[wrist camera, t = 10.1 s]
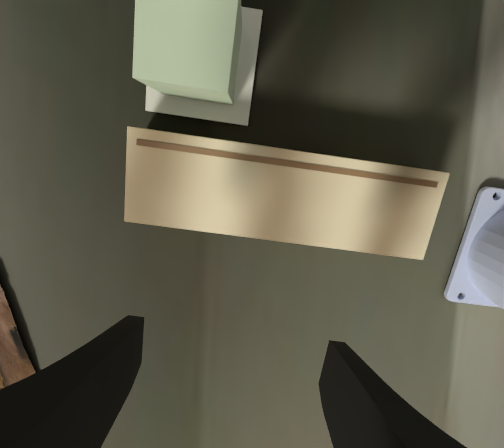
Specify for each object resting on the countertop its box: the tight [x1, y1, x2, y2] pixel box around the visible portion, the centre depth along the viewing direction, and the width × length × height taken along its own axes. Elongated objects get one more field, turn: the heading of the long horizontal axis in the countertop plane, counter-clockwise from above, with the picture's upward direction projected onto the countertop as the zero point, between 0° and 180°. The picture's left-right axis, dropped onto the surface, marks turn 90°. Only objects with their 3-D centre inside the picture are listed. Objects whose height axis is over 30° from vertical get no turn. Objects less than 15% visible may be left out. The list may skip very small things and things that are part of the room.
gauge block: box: [132, 0, 242, 105], centre depth 15 cm, size 4×4×5 cm
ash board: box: [124, 126, 450, 260], centre depth 18 cm, size 17×5×3 cm, turn 82°
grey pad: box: [145, 7, 263, 126], centre depth 17 cm, size 6×6×1 cm
